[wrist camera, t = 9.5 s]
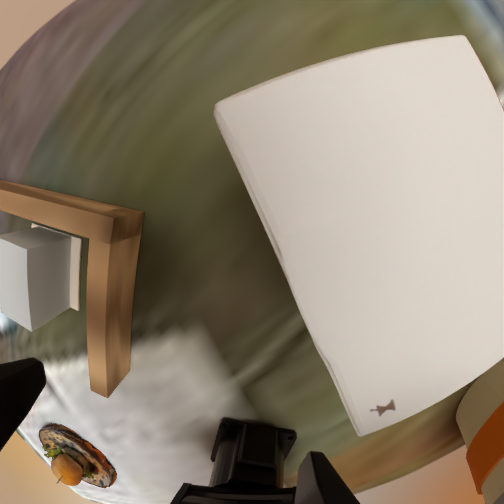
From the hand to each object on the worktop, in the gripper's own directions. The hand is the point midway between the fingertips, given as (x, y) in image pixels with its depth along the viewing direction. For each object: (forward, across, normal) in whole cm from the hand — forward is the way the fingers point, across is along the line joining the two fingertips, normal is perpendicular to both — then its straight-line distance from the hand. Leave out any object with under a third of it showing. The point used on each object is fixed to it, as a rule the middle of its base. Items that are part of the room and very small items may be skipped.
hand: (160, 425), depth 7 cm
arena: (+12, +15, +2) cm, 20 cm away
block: (+12, +14, +2) cm, 19 cm away
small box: (+12, -5, -7) cm, 15 cm away
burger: (+12, +15, +29) cm, 35 cm away
